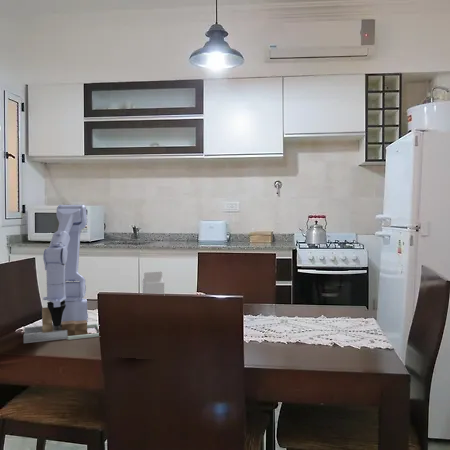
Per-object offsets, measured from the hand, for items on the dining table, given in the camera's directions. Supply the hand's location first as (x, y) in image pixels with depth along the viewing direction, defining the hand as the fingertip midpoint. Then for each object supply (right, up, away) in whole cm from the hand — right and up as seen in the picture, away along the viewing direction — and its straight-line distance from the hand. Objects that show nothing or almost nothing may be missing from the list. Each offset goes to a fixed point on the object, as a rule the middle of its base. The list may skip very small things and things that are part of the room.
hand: (56, 324), depth 151 cm
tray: (+8, -4, +3) cm, 10 cm away
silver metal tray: (-3, -5, -1) cm, 6 cm away
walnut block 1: (+3, -4, +1) cm, 5 cm away
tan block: (-1, -3, 0) cm, 4 cm away
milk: (+32, -5, -1) cm, 33 cm away
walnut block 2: (+7, -4, +3) cm, 9 cm away
